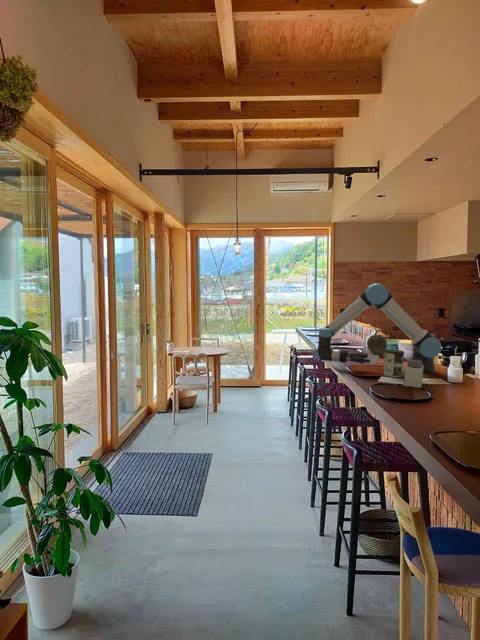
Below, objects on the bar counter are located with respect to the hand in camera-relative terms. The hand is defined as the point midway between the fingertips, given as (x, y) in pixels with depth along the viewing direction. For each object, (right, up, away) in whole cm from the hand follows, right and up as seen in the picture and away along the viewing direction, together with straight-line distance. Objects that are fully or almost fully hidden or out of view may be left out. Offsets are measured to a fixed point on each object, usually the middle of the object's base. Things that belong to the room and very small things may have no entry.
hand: (377, 359), depth 256 cm
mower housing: (+6, -10, -20) cm, 23 cm away
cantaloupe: (+20, -3, +70) cm, 73 cm away
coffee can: (+8, -9, -3) cm, 12 cm away
